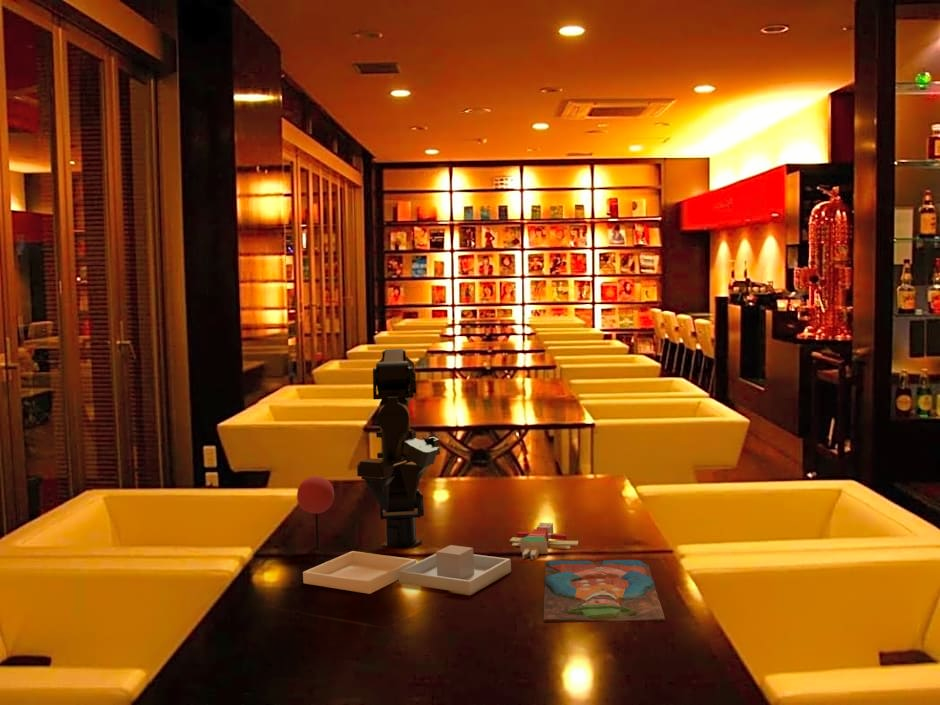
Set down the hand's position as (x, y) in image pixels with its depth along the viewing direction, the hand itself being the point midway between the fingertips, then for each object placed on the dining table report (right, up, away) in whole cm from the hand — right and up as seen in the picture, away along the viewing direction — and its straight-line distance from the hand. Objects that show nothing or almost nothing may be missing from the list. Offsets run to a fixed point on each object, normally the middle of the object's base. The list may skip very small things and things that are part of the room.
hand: (398, 504), depth 199 cm
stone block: (+11, -12, -9) cm, 19 cm away
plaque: (+37, -13, -20) cm, 44 cm away
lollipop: (-18, -12, +17) cm, 27 cm away
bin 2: (+11, -12, -9) cm, 19 cm away
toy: (+28, -11, +9) cm, 31 cm away
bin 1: (-7, -13, -7) cm, 16 cm away
